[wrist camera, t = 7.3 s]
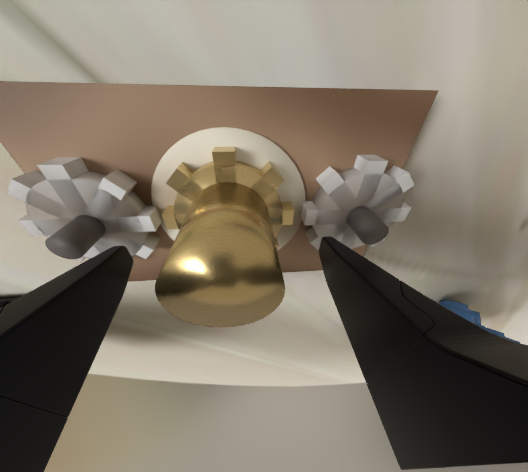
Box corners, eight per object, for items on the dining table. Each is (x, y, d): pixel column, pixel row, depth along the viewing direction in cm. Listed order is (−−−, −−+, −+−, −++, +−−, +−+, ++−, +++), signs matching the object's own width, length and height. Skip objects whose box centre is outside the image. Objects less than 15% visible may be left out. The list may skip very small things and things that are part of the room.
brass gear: (285, 252, 14) (306, 335, 9) (184, 256, 13) (152, 348, 8) (297, 146, 9) (351, 200, 5) (148, 146, 9) (38, 210, 4)
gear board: (355, 255, 17) (385, 297, 14) (110, 268, 16) (70, 321, 12) (427, 91, 10) (530, 90, 6) (-24, 81, 8) (-227, 73, 5)
